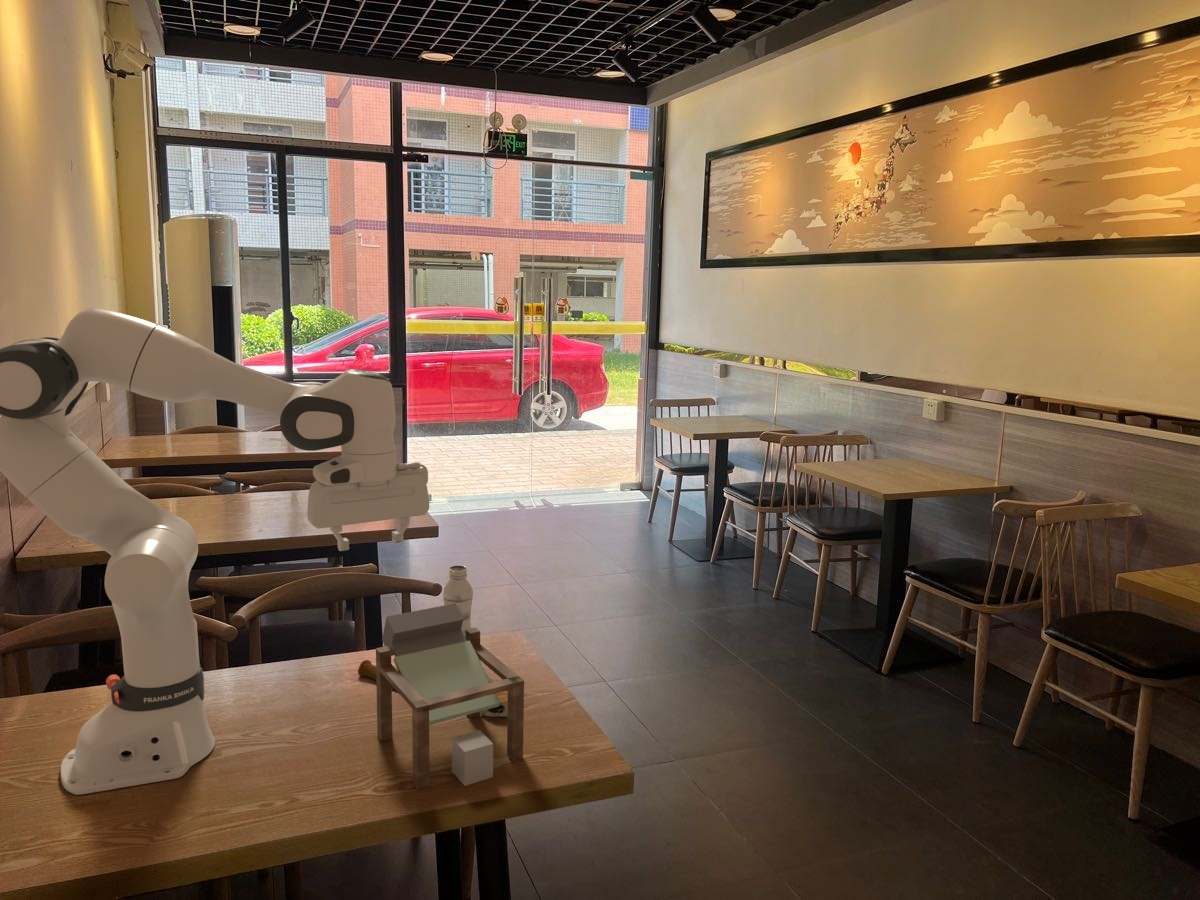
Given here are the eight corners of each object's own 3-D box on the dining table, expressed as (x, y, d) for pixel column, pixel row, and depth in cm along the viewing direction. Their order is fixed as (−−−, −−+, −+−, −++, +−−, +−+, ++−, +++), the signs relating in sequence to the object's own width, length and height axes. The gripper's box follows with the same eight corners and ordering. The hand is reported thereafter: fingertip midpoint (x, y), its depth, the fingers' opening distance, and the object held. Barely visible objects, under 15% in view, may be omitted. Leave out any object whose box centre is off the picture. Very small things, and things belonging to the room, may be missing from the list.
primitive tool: (443, 695, 168) (442, 678, 168) (424, 707, 164) (424, 690, 163) (368, 672, 177) (368, 656, 177) (349, 682, 173) (348, 666, 172)
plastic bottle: (472, 650, 188) (472, 562, 184) (474, 663, 182) (474, 572, 178) (442, 651, 187) (441, 563, 183) (443, 665, 180) (442, 574, 176)
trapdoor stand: (417, 789, 136) (416, 692, 133) (377, 736, 152) (375, 648, 149) (522, 757, 147) (524, 666, 143) (475, 710, 162) (475, 627, 159)
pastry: (490, 693, 169) (491, 675, 168) (524, 697, 168) (525, 679, 168) (477, 717, 160) (477, 698, 159) (513, 721, 159) (513, 701, 158)
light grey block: (464, 752, 137) (464, 786, 138) (493, 743, 139) (492, 777, 141) (451, 737, 141) (451, 771, 142) (479, 729, 144) (479, 762, 145)
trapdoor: (419, 736, 141) (425, 713, 138) (379, 639, 154) (384, 617, 151) (496, 715, 149) (503, 693, 145) (451, 624, 162) (458, 602, 159)
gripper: (420, 457, 153) (421, 532, 156) (302, 468, 142) (306, 549, 145) (434, 464, 148) (435, 542, 151) (313, 476, 137) (316, 559, 139)
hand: (371, 545), depth 148 cm, fingers open, 8 cm apart
